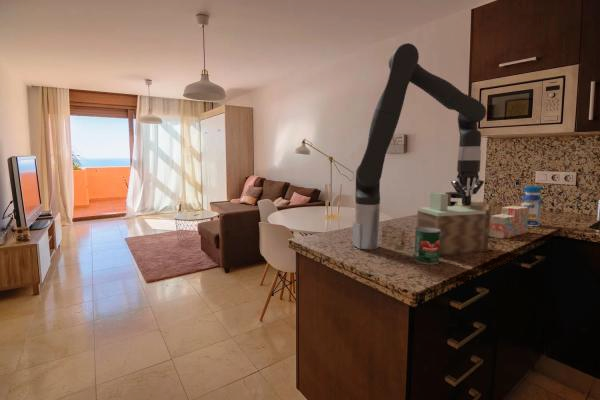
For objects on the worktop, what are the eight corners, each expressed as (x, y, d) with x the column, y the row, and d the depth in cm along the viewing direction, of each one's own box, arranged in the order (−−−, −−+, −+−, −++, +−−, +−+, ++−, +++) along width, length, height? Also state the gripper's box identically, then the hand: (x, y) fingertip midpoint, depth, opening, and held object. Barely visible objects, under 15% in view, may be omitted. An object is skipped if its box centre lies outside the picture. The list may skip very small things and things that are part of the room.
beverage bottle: (543, 226, 164) (547, 186, 162) (530, 227, 162) (534, 187, 160) (528, 223, 172) (531, 185, 170) (515, 223, 170) (518, 185, 168)
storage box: (435, 256, 115) (438, 216, 113) (415, 247, 126) (417, 210, 124) (482, 252, 120) (485, 213, 118) (459, 244, 131) (461, 208, 129)
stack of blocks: (503, 239, 140) (506, 210, 138) (488, 236, 145) (490, 208, 143) (526, 232, 151) (529, 206, 150) (512, 230, 156) (514, 205, 155)
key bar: (481, 210, 117) (482, 203, 117) (457, 205, 129) (458, 199, 128) (488, 210, 118) (488, 203, 118) (464, 205, 129) (464, 199, 129)
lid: (437, 220, 113) (439, 195, 112) (417, 214, 125) (418, 192, 123) (485, 217, 118) (487, 193, 117) (461, 212, 129) (463, 190, 128)
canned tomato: (425, 256, 116) (426, 225, 114) (444, 262, 109) (446, 230, 107) (408, 259, 112) (410, 227, 111) (427, 265, 105) (429, 232, 104)
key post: (478, 251, 122) (481, 209, 120) (463, 245, 129) (465, 206, 127) (487, 250, 123) (490, 209, 121) (471, 244, 130) (474, 206, 128)
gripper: (461, 159, 115) (458, 207, 117) (492, 159, 118) (488, 206, 120) (446, 159, 122) (444, 205, 124) (476, 159, 125) (473, 203, 127)
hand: (466, 205), depth 122 cm, fingers closed
